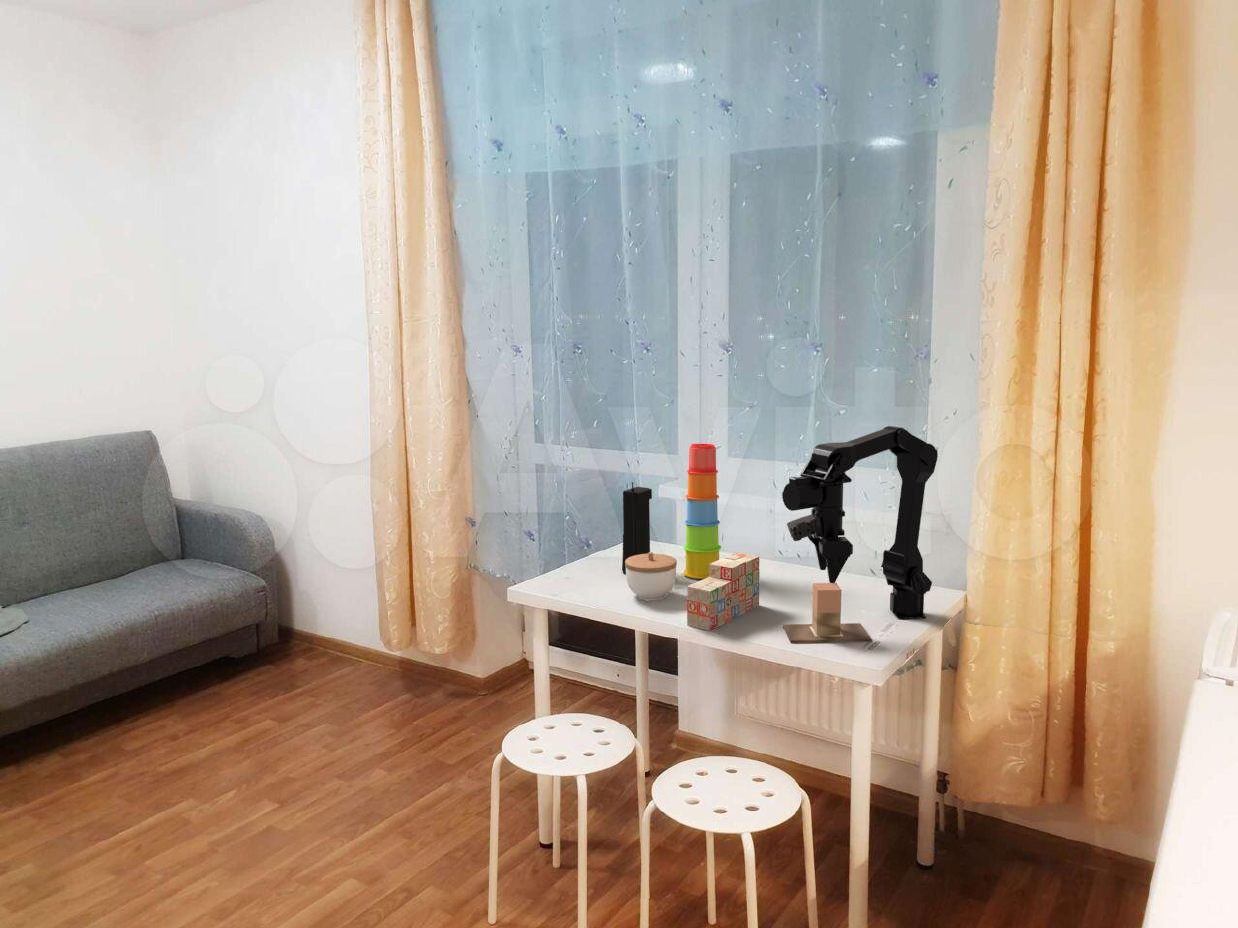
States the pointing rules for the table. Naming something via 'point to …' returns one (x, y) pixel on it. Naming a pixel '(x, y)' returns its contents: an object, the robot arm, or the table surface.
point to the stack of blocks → (724, 592)
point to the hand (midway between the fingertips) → (827, 576)
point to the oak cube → (826, 623)
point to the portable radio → (636, 522)
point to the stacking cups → (701, 512)
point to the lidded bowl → (651, 575)
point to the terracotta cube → (827, 598)
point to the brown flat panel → (808, 635)
